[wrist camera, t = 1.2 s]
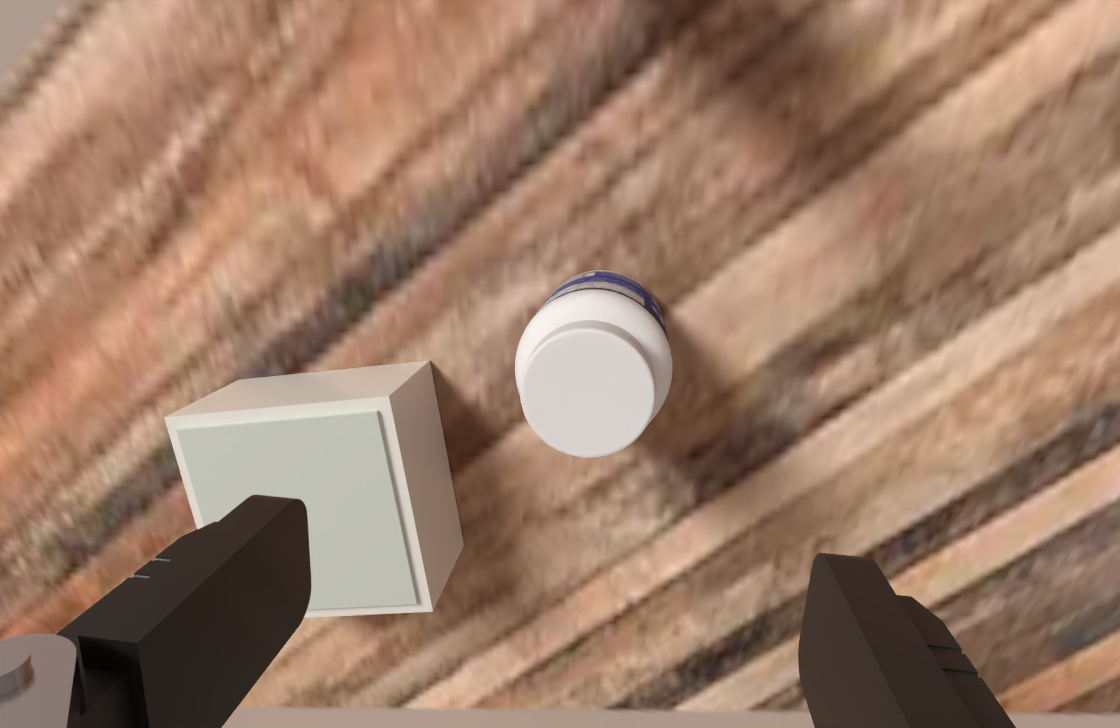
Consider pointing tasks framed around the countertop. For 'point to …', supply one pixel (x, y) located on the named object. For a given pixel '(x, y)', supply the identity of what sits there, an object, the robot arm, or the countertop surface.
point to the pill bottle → (594, 364)
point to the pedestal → (335, 477)
